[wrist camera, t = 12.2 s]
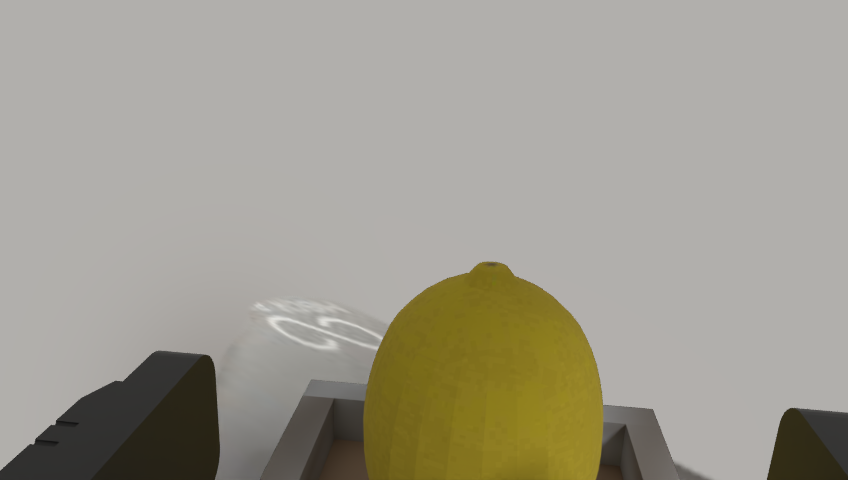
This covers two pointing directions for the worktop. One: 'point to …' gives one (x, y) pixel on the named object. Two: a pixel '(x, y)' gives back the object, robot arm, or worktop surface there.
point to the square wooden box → (344, 440)
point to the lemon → (483, 386)
